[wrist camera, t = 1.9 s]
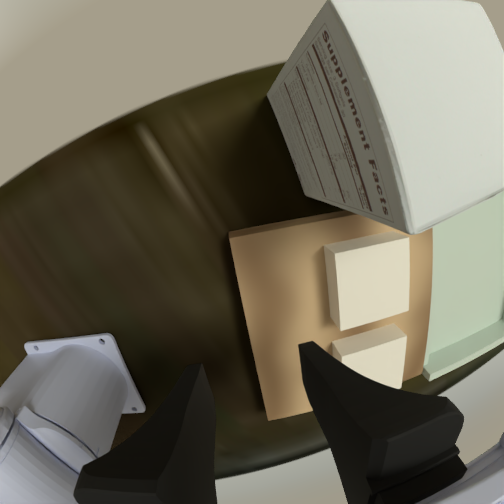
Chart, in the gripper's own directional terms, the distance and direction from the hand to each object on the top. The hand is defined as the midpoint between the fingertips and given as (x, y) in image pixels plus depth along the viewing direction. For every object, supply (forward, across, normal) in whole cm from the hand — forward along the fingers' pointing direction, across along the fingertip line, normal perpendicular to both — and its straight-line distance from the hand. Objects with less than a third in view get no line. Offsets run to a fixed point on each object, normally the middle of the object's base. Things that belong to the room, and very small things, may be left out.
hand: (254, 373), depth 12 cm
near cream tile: (+7, -8, 0) cm, 11 cm away
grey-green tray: (+9, -21, +3) cm, 23 cm away
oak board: (+9, -7, +4) cm, 12 cm away
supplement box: (+10, -8, -10) cm, 16 cm away
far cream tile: (+7, -8, +7) cm, 13 cm away
